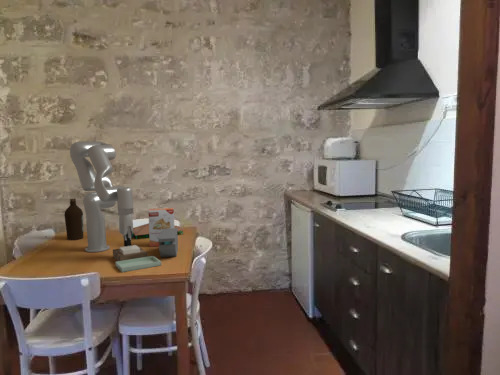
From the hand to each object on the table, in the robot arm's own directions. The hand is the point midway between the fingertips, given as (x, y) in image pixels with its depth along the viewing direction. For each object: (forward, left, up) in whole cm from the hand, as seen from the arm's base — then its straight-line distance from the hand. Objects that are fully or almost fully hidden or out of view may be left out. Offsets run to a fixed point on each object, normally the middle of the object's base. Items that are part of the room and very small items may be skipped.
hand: (127, 247), depth 200 cm
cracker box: (-14, +23, -5) cm, 27 cm away
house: (-46, +29, -6) cm, 55 cm away
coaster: (+6, -1, -1) cm, 6 cm away
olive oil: (-64, -16, -5) cm, 66 cm away
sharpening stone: (+7, +19, -5) cm, 21 cm away
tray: (+18, 0, -5) cm, 19 cm away
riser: (+4, 0, -5) cm, 6 cm away
